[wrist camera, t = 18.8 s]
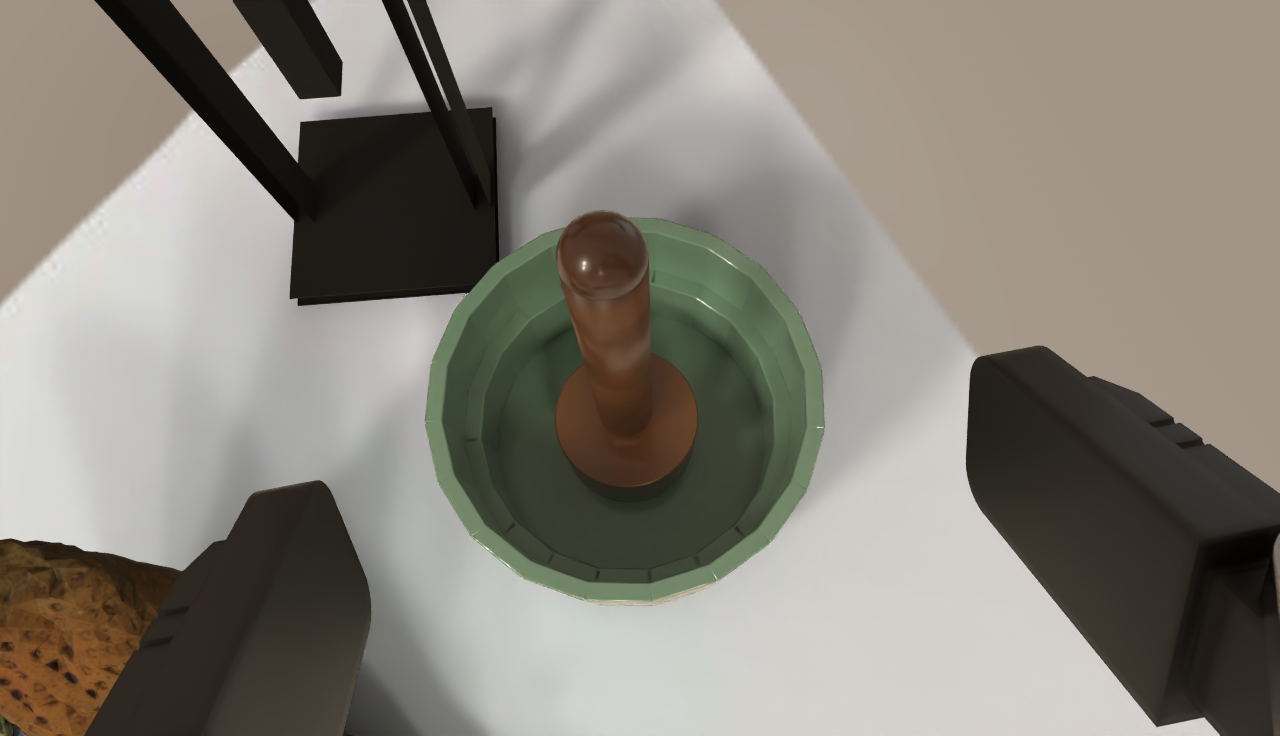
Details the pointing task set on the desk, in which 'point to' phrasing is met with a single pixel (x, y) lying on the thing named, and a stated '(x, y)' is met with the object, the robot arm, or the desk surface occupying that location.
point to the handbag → (347, 155)
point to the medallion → (5, 727)
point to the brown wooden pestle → (619, 367)
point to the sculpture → (69, 630)
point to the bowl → (539, 470)
